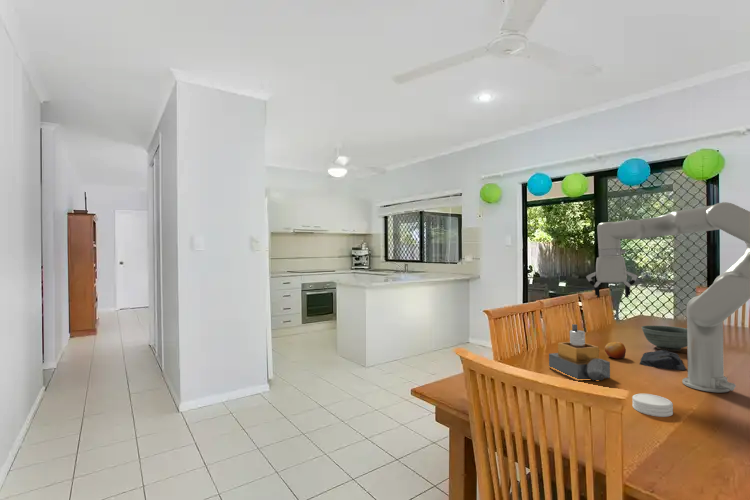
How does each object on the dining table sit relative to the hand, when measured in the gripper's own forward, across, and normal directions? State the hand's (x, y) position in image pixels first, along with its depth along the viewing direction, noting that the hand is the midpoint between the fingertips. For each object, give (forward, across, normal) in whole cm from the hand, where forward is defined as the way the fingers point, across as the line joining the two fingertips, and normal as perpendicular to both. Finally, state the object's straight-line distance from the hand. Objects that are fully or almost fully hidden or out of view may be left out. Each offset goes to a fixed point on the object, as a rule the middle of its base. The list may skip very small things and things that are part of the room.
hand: (612, 297), depth 152 cm
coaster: (+30, -5, +36) cm, 48 cm away
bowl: (+30, -26, -50) cm, 64 cm away
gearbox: (+29, +14, +6) cm, 33 cm away
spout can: (+23, +14, +7) cm, 27 cm away
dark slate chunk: (+31, -19, -24) cm, 43 cm away
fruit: (+30, -2, -24) cm, 38 cm away
